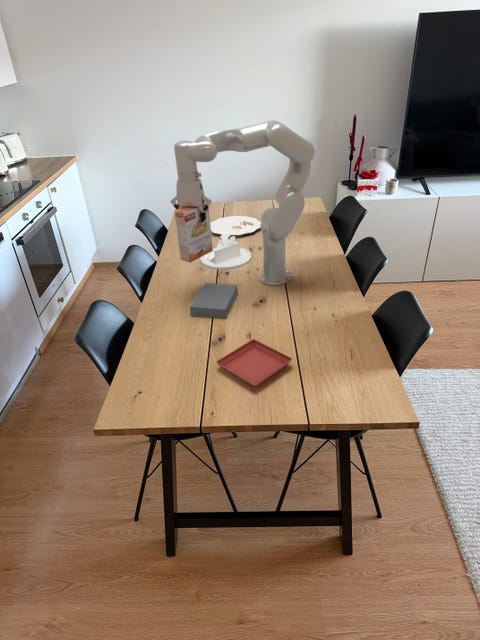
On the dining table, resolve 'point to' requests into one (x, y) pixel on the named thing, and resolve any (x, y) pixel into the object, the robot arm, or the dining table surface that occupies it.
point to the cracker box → (193, 233)
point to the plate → (227, 223)
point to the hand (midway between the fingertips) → (193, 220)
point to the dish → (226, 255)
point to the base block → (214, 300)
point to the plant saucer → (254, 362)
